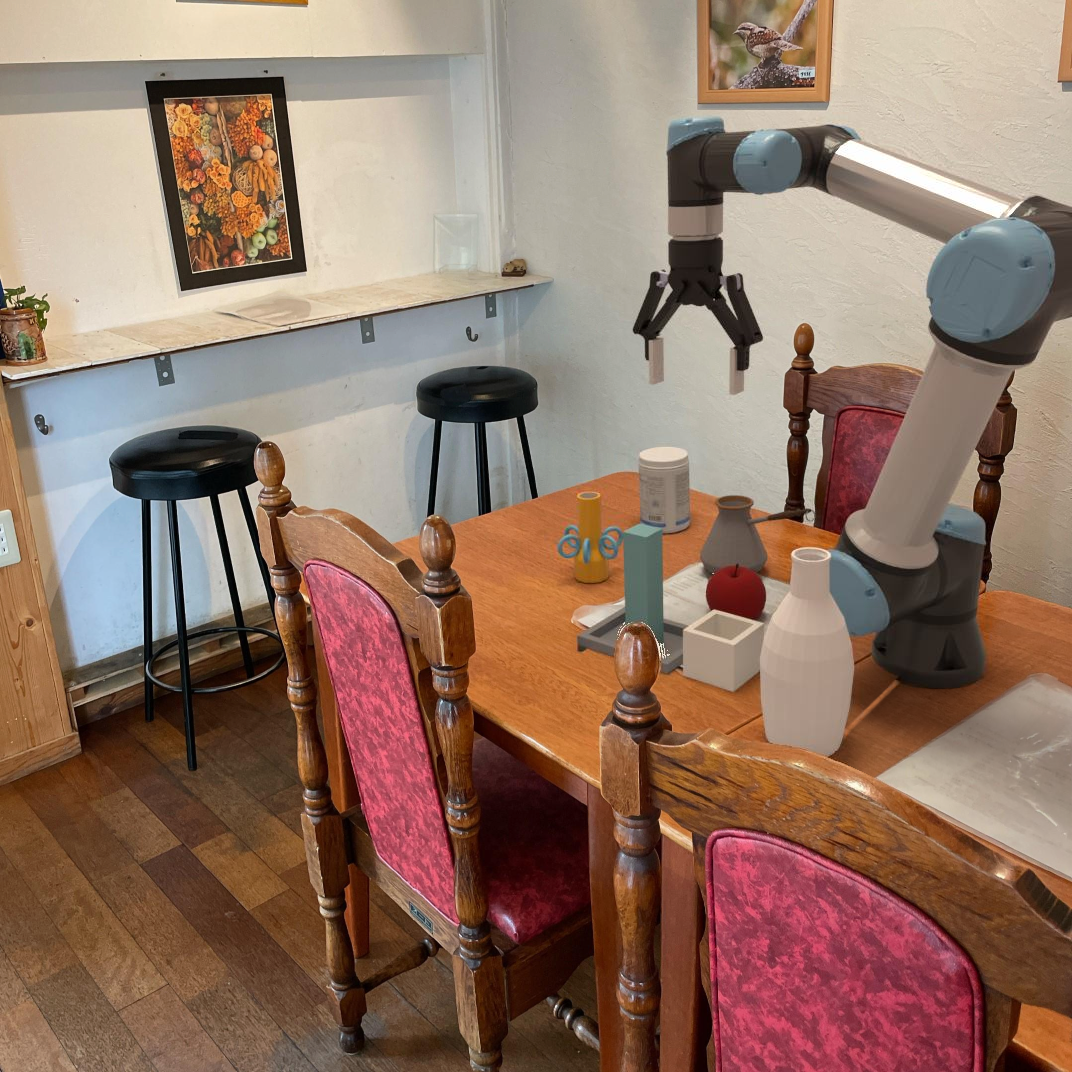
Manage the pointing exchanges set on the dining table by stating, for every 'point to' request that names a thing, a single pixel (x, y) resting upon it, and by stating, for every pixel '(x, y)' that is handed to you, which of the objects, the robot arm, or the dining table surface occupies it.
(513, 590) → the dining table surface
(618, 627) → the tray
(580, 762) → the dining table surface
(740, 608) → the apple
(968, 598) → the robot arm
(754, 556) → the coffee pot
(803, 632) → the bottle
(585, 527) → the yellow ringed vase
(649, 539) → the peg
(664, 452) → the supplement tub
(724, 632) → the white open box
